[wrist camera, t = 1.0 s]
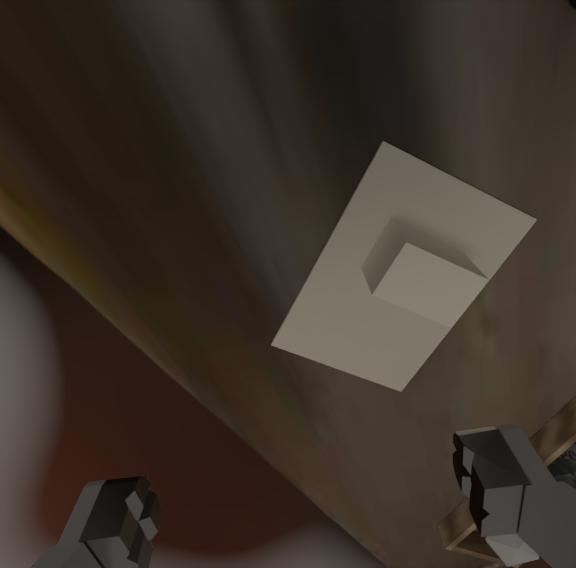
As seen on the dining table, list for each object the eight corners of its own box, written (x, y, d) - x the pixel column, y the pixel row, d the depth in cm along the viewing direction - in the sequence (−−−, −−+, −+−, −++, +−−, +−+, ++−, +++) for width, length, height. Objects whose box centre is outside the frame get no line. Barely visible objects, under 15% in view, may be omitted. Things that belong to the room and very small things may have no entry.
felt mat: (382, 140, 41) (383, 141, 41) (535, 218, 46) (537, 219, 45) (271, 343, 54) (271, 345, 53) (400, 389, 58) (401, 391, 58)
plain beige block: (390, 219, 45) (406, 242, 39) (463, 253, 47) (489, 279, 42) (360, 267, 48) (371, 295, 42) (431, 297, 50) (451, 327, 44)
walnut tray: (575, 396, 59) (594, 417, 56) (653, 427, 63) (675, 449, 59) (437, 525, 74) (445, 548, 71) (506, 544, 78) (517, 567, 74)
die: (483, 491, 71) (477, 554, 66) (542, 508, 66) (539, 576, 62) (485, 499, 77) (480, 558, 72) (539, 515, 72) (537, 578, 68)
